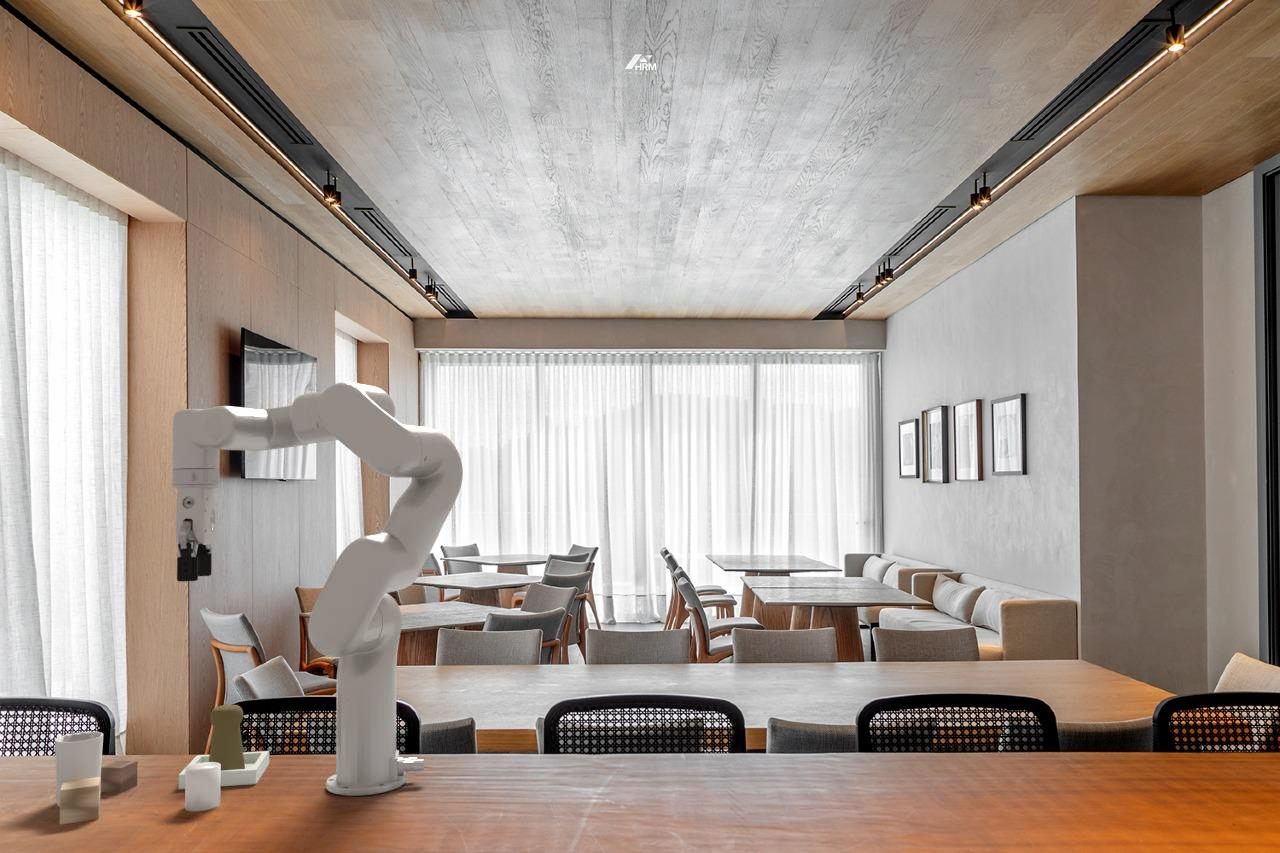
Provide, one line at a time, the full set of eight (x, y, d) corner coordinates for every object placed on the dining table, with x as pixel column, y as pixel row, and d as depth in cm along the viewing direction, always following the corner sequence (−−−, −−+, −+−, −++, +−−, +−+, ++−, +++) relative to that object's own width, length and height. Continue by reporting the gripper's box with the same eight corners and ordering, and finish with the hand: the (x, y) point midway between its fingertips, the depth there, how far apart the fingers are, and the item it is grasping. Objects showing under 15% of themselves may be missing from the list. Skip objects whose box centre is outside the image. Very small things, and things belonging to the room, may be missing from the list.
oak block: (100, 809, 152) (100, 776, 152) (98, 819, 148) (99, 785, 148) (62, 815, 150) (63, 781, 150) (59, 825, 145) (60, 790, 146)
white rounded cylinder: (223, 799, 156) (223, 761, 156) (216, 810, 151) (216, 769, 151) (189, 802, 155) (190, 763, 155) (181, 812, 150) (181, 772, 150)
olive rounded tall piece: (231, 777, 165) (231, 710, 166) (199, 775, 166) (199, 709, 167) (252, 767, 171) (253, 702, 172) (221, 765, 172) (221, 701, 173)
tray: (269, 764, 176) (269, 750, 176) (256, 783, 164) (256, 769, 164) (196, 768, 173) (197, 755, 173) (178, 789, 162) (178, 774, 162)
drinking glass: (112, 797, 158) (113, 733, 159) (75, 810, 152) (77, 743, 152) (80, 793, 160) (81, 730, 161) (43, 806, 154) (44, 740, 154)
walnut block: (137, 785, 164) (137, 761, 164) (121, 793, 160) (121, 768, 161) (115, 784, 165) (115, 760, 165) (98, 792, 161) (99, 767, 161)
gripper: (206, 479, 166) (205, 582, 165) (229, 479, 182) (228, 573, 181) (158, 479, 164) (157, 584, 163) (185, 480, 181) (184, 574, 180)
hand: (194, 578), depth 172 cm, fingers open, 9 cm apart
